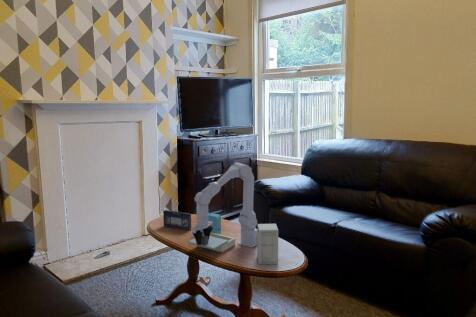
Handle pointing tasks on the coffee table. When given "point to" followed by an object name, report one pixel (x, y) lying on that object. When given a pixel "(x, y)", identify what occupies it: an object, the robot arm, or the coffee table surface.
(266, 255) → the supplement box
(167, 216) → the vhs cassette tape
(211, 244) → the lid flap
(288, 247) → the coffee table surface
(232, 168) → the robot arm
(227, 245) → the carton
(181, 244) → the coffee table surface
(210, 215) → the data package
